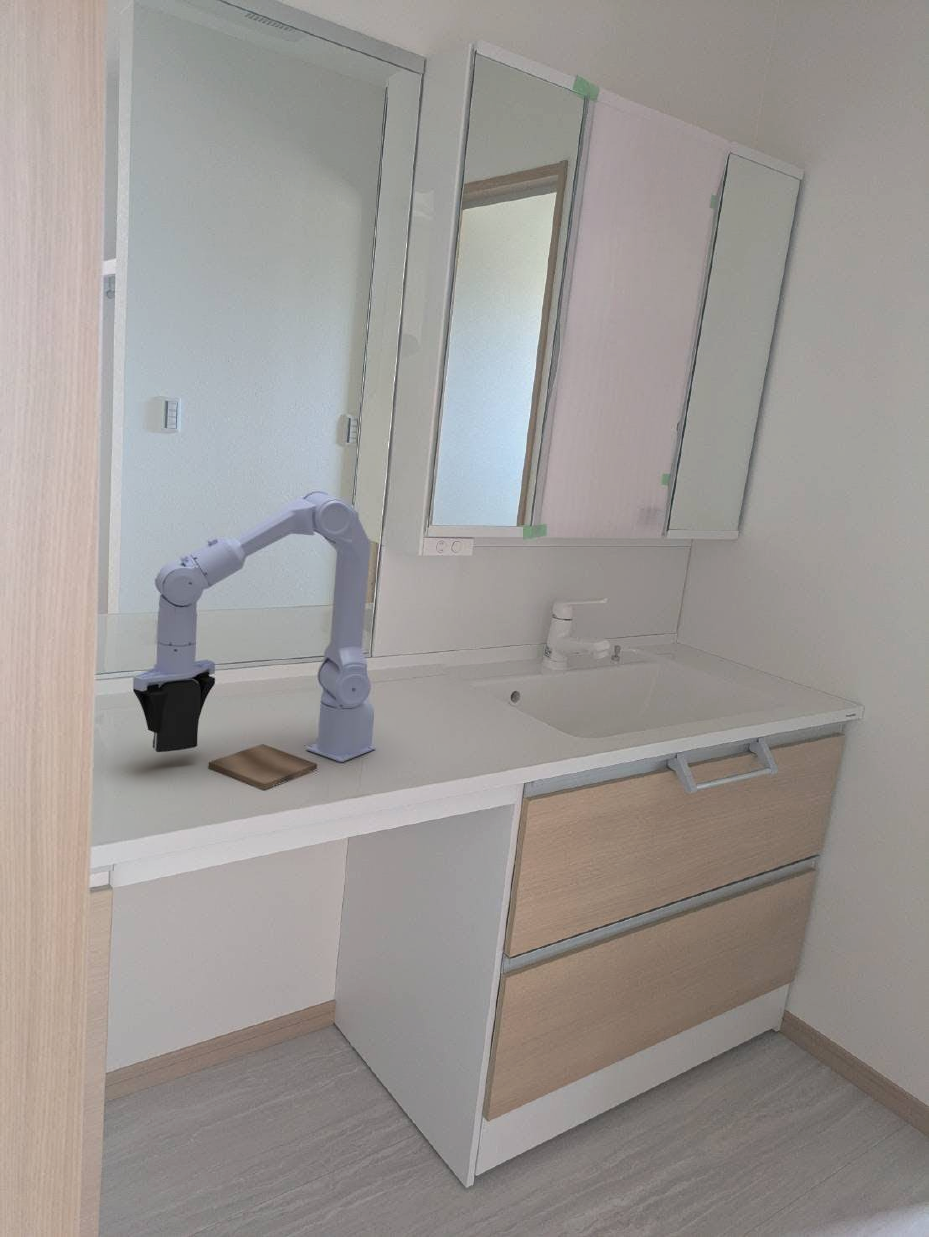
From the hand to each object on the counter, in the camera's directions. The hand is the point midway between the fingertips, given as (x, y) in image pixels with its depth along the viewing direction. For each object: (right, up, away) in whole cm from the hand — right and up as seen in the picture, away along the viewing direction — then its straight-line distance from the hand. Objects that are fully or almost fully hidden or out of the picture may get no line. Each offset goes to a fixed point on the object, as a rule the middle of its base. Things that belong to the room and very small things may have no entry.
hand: (173, 725), depth 155 cm
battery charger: (0, -4, +1) cm, 4 cm away
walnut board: (+13, -7, +3) cm, 16 cm away
